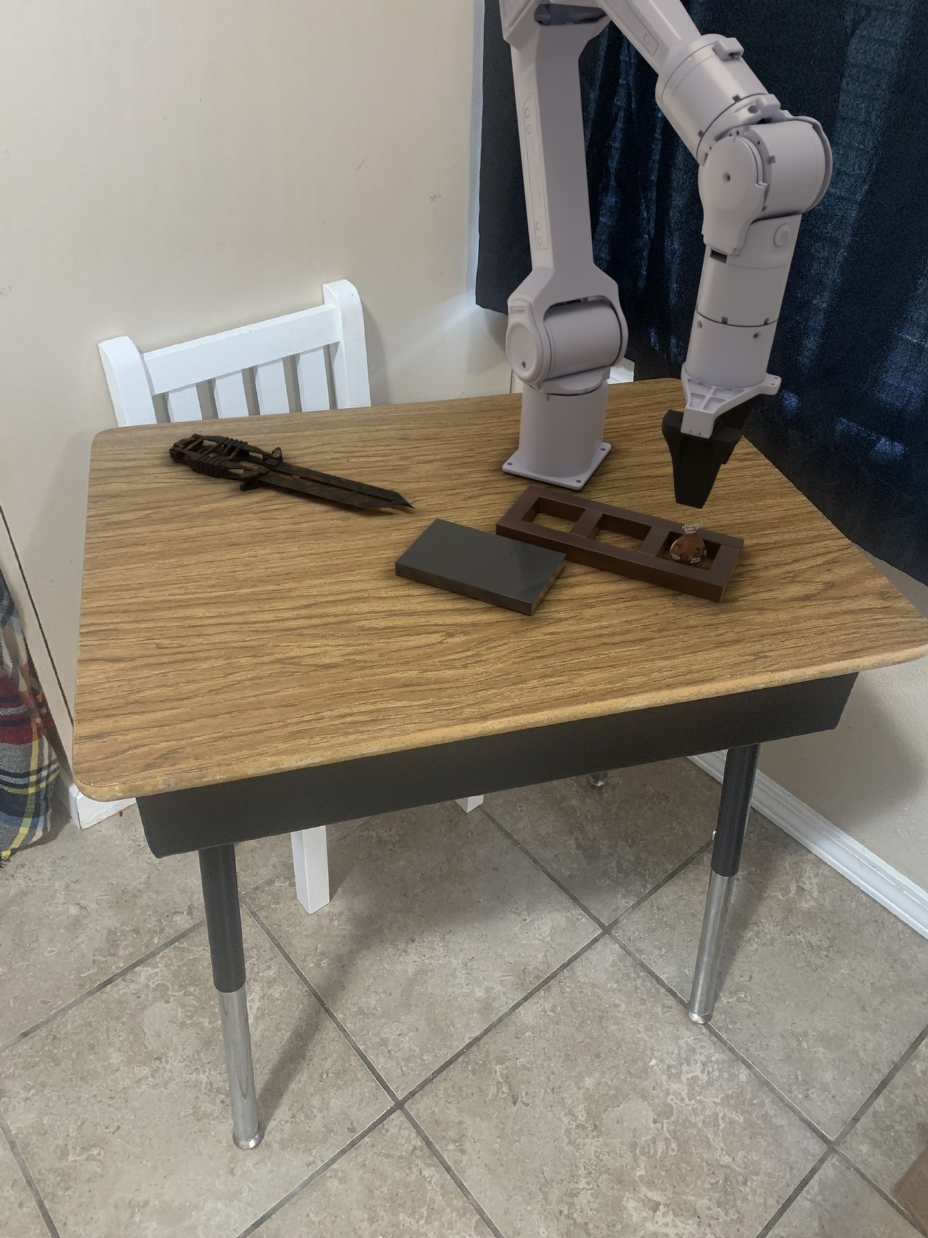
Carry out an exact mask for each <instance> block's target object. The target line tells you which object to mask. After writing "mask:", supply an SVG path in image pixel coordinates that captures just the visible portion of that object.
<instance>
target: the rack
mask: <svg viewBox="0 0 928 1238" xmlns="http://www.w3.org/2000/svg"><path fill="white" fill-rule="evenodd" d="M538 512H540V513H543V514H547V515H551V516H555V517H559V518H562V519H567V520H570V521H574V522H575V524H574V525H573V526H572V528H571V529H570V531H568V532H567V531H564V530H563V531H562V530H558V529H555V528H553V527H552V528H551V527H547V526H544V525H540V524H537V523H533V522H531V521H532V520H533V519H534V517H535V516H536V514H537V513H538ZM685 525H687V526H689V525H690V524H686V523H681V522H678V521H674V520H670V519H666V518H663V517H658V516H654V515H651V514H647V513H643V512H639V511H635V510H632V509H627V508H623V507H619V506H616V505H612V504H608V503H604V502H601V501H596V500H593V499H589V498H586V497H581V496H577V495H574V494H569V493H565V492H562V491H558V490H554V489H550V488H546V487H542V486H539V485H534V484H528V486H527V487H526V488H525V489H524V490H523V491H522V493H521V494H520V495H519V496H518V497H517V499H516V500H515V501H514V502H513V504H512V505H511V506H510V507H509V508H508V510H507V511H506V512H505V513H504V515H502V517H501V518H500V519H499V520H498V521H497V523H496V524H495V534H496V535H499V536H503V537H506V538H510V539H514V540H517V541H521V542H524V543H528V544H531V545H535V546H539V547H542V548H546V549H549V550H553V551H556V552H560V553H564V554H566V561H571V562H575V563H577V564H582V565H585V566H589V567H592V568H595V569H599V570H602V571H606V572H609V573H613V574H616V575H620V576H625V577H627V578H631V579H634V580H639V581H642V582H645V583H649V584H653V585H656V586H660V587H663V588H667V589H670V590H674V591H678V592H681V593H685V594H688V595H691V596H696V597H698V598H702V599H705V600H708V601H709V600H710V601H713V602H717V603H721V601H722V598H723V596H724V594H725V592H726V590H727V587H728V586H729V583H730V580H731V579H732V576H733V574H734V572H735V569H736V567H737V565H738V562H739V560H740V558H741V556H742V552H743V548H744V544H745V539H744V538H739V537H735V536H732V535H728V534H725V533H720V532H717V531H713V530H709V529H705V528H701V527H699V529H698V530H696V529H697V528H696V526H692V527H694V529H693V528H692V527H691V526H690V527H688V528H692V529H693V530H696V531H695V533H696V534H697V535H699V536H700V537H701V539H702V540H703V542H704V545H705V551H706V553H705V552H704V553H705V554H706V556H705V555H703V557H704V556H705V557H709V558H711V559H713V561H712V563H711V565H710V567H709V570H706V569H702V568H698V567H696V566H695V567H694V566H688V565H684V564H680V563H677V562H675V561H673V560H670V559H665V558H662V556H663V554H664V553H665V551H666V549H667V547H670V548H671V547H672V545H673V543H674V542H675V541H676V540H678V539H679V538H680V537H681V536H683V535H684V534H685V532H686V531H685V530H686V529H687V526H686V528H685V527H684V528H682V527H683V526H685ZM601 529H603V530H607V531H610V532H615V533H620V534H622V535H626V536H630V537H633V538H638V539H642V540H643V541H642V543H641V544H640V546H639V548H638V550H637V551H636V550H632V549H628V548H625V547H621V546H618V545H614V544H610V543H608V542H607V543H606V542H603V541H599V540H595V538H596V537H597V535H598V534H599V532H600V531H601ZM684 529H685V530H684ZM687 530H688V529H687ZM693 530H688V531H693Z"/></svg>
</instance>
